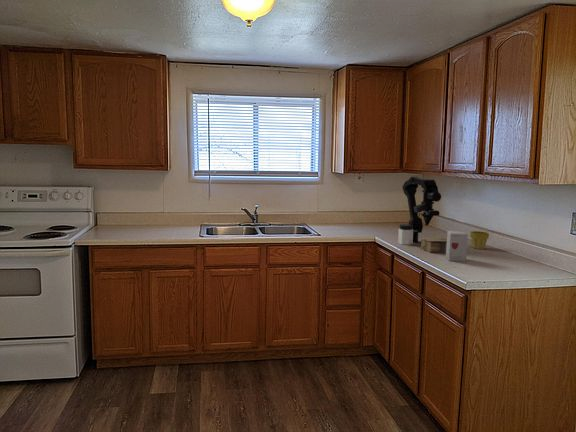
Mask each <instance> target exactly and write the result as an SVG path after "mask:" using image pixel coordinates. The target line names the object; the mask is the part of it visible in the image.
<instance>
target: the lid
mask: <svg viewBox="0 0 576 432" xmlns="http://www.w3.org/2000/svg"><path fill="white" fill-rule="evenodd" d="M421 239H422V240H426V241H429V242H447V237H445V238H444V237H421ZM421 239H420V240H421Z"/></svg>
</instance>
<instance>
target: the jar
mask: <svg viewBox="0 0 576 432" xmlns="http://www.w3.org/2000/svg"><path fill="white" fill-rule="evenodd" d="M398 227H399V228H398V235H397V236H398V237H397V244H399V245H403V246H404V245H405V246H406V245H407V246H410V245H413V244H414V242H413V225H410V224H409V223H402V224H401V223H400V224H399V226H398Z"/></svg>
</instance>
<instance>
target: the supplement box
mask: <svg viewBox="0 0 576 432" xmlns="http://www.w3.org/2000/svg"><path fill="white" fill-rule="evenodd" d="M446 232H447V233H446V235H447V236H446V239H447V246H446V253H445V258H446V259H447V260H448V261H450V262H464V263H465V262H466V261H467V245H468V233H466V231H459V230H458V231H457V230H447V231H446Z"/></svg>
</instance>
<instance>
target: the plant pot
mask: <svg viewBox="0 0 576 432" xmlns="http://www.w3.org/2000/svg"><path fill="white" fill-rule="evenodd" d="M469 233H470V235H469V236H470V239H471V244H472V248H473V249H476V250H485V248H486V244H487V240H488V239H489V237H490V236H489V235H490V233H489V232H486V231H480V230H479V231H478V230H472V231H470V232H469Z"/></svg>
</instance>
